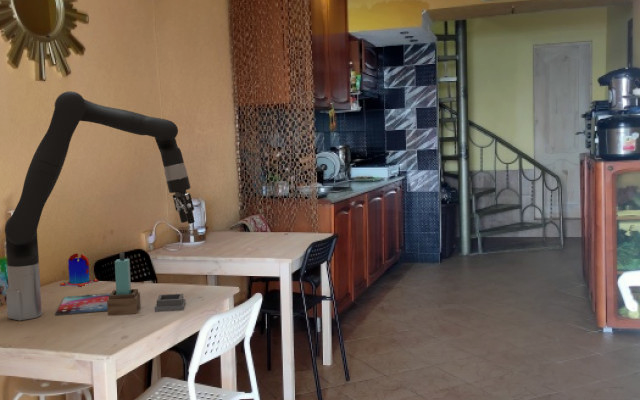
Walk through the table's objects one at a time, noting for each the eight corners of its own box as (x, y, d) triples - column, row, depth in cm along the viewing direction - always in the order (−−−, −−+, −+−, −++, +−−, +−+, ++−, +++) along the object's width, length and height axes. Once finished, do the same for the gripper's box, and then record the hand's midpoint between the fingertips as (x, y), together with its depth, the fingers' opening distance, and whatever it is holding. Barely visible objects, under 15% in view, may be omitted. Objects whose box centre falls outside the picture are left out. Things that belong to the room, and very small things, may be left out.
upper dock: (136, 313, 207) (135, 295, 207) (107, 315, 206) (106, 296, 206) (140, 306, 216) (139, 288, 216) (113, 307, 215) (112, 289, 214)
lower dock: (183, 310, 211) (182, 300, 210) (155, 311, 210) (154, 301, 209) (185, 303, 220) (184, 293, 219) (158, 304, 219) (158, 294, 218)
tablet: (119, 294, 235) (119, 292, 235) (116, 312, 211) (115, 309, 211) (63, 298, 230) (63, 296, 230) (54, 317, 206) (53, 314, 206)
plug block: (129, 297, 209) (127, 253, 207) (116, 297, 209) (114, 254, 207) (131, 294, 213) (129, 251, 211) (118, 294, 212) (116, 252, 211)
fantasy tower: (101, 280, 256) (100, 251, 254) (83, 287, 244) (81, 256, 243) (76, 279, 259) (74, 250, 258) (56, 286, 248) (55, 255, 246)
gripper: (161, 180, 226) (172, 224, 228) (172, 179, 214) (183, 226, 215) (181, 175, 230) (192, 219, 231) (193, 174, 217) (204, 220, 219)
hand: (187, 222), depth 223 cm, fingers open, 8 cm apart
